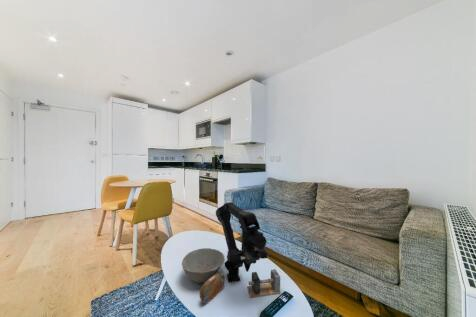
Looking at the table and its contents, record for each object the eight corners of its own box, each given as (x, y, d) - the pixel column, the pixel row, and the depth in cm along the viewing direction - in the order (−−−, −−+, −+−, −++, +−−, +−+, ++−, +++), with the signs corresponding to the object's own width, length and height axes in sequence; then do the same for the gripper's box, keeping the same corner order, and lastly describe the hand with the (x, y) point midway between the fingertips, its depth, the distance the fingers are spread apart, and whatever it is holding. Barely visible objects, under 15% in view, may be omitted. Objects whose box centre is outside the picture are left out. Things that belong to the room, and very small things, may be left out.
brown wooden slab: (203, 307, 81) (203, 289, 81) (198, 304, 83) (198, 286, 83) (225, 287, 93) (225, 271, 93) (220, 284, 95) (220, 268, 95)
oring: (251, 284, 94) (251, 272, 94) (256, 284, 94) (256, 271, 94) (255, 294, 88) (255, 281, 87) (260, 293, 88) (260, 280, 88)
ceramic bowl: (172, 280, 98) (172, 261, 98) (204, 259, 117) (204, 244, 116) (202, 300, 85) (202, 279, 85) (232, 273, 104) (232, 256, 104)
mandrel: (246, 287, 94) (247, 271, 93) (274, 283, 97) (275, 268, 96) (250, 298, 87) (250, 281, 87) (280, 293, 90) (280, 277, 90)
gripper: (231, 250, 79) (230, 285, 80) (272, 246, 83) (271, 280, 84) (227, 238, 90) (227, 269, 91) (263, 235, 94) (263, 265, 95)
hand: (247, 271), depth 90 cm, fingers closed
